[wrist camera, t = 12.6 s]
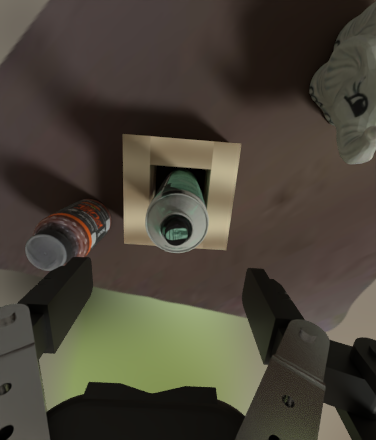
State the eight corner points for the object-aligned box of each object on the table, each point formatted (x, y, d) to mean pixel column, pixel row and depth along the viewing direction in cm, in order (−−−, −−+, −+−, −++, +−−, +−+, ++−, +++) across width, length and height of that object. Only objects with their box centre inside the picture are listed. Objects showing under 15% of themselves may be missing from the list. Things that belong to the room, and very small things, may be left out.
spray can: (156, 181, 35) (122, 225, 16) (185, 161, 34) (186, 183, 15) (176, 209, 37) (166, 280, 18) (204, 191, 36) (226, 245, 17)
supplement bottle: (120, 212, 37) (87, 246, 24) (101, 243, 38) (62, 290, 26) (81, 189, 35) (27, 213, 23) (63, 223, 37) (4, 261, 25)
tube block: (135, 135, 33) (122, 133, 26) (230, 143, 33) (241, 143, 27) (135, 225, 37) (124, 243, 31) (218, 231, 38) (225, 250, 31)
